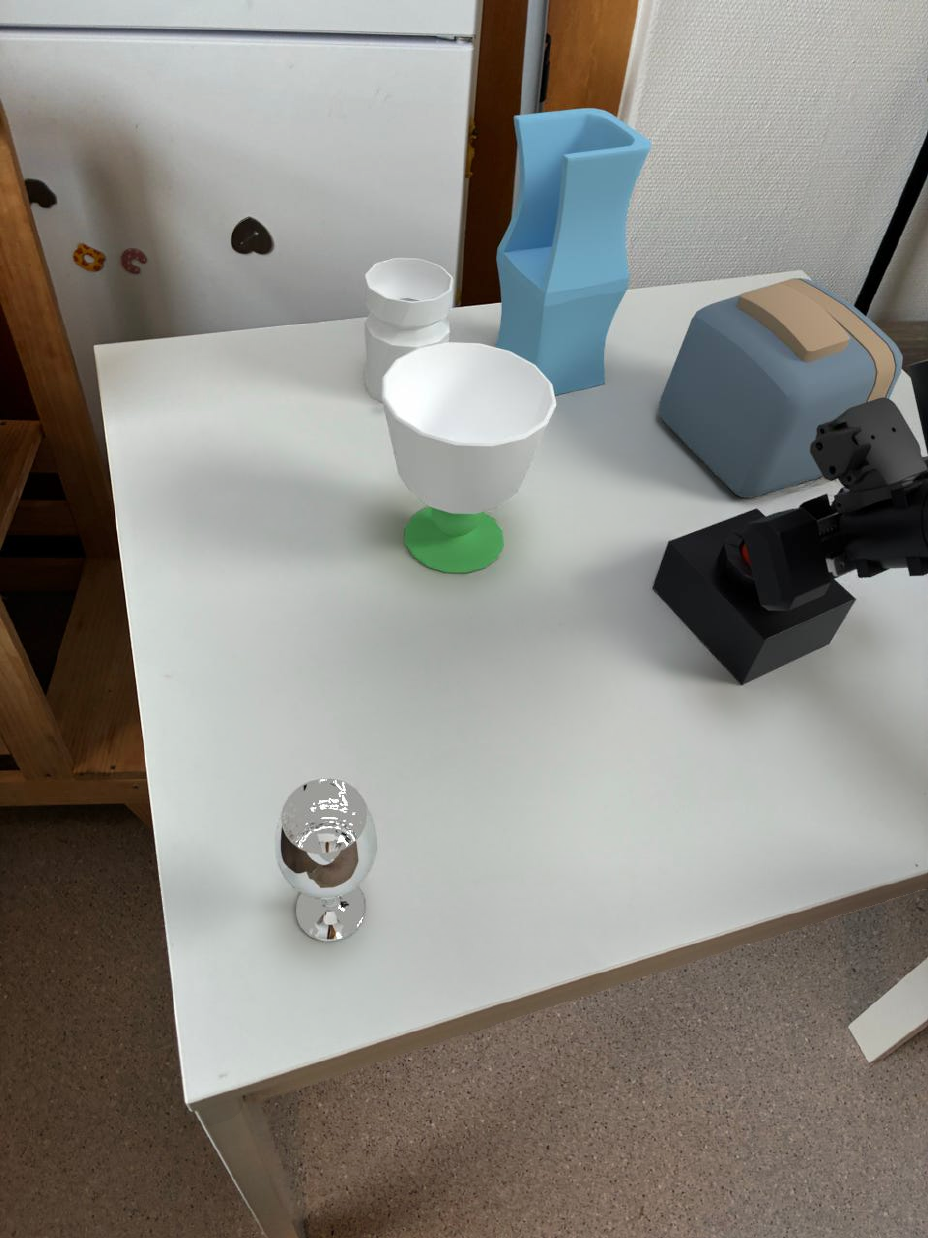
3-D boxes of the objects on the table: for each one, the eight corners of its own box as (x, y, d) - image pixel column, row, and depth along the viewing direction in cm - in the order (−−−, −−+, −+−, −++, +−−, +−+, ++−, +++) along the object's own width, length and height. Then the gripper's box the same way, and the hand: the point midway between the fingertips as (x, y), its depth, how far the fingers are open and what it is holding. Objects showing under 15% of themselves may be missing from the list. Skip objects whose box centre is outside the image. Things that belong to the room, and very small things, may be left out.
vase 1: (386, 416, 93) (388, 310, 84) (351, 371, 97) (349, 266, 88) (460, 397, 96) (470, 292, 87) (422, 354, 101) (428, 251, 92)
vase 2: (485, 353, 102) (512, 115, 83) (559, 337, 105) (601, 105, 87) (528, 402, 96) (567, 158, 78) (605, 383, 100) (660, 146, 81)
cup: (365, 496, 84) (365, 346, 72) (505, 481, 87) (527, 335, 76) (395, 603, 76) (400, 453, 64) (548, 582, 79) (581, 435, 67)
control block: (829, 644, 77) (866, 583, 71) (741, 685, 73) (772, 625, 67) (737, 554, 83) (763, 491, 78) (651, 587, 79) (673, 525, 74)
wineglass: (302, 967, 55) (289, 880, 46) (273, 885, 59) (257, 790, 50) (389, 930, 57) (393, 841, 48) (357, 853, 61) (355, 756, 52)
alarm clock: (864, 472, 93) (937, 334, 81) (739, 511, 87) (797, 369, 75) (764, 385, 102) (817, 250, 90) (646, 415, 97) (685, 274, 85)
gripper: (1020, 362, 59) (835, 409, 74) (817, 432, 52) (655, 469, 66) (1053, 525, 61) (865, 540, 75) (860, 614, 54) (693, 612, 68)
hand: (774, 537), depth 71 cm, fingers closed
